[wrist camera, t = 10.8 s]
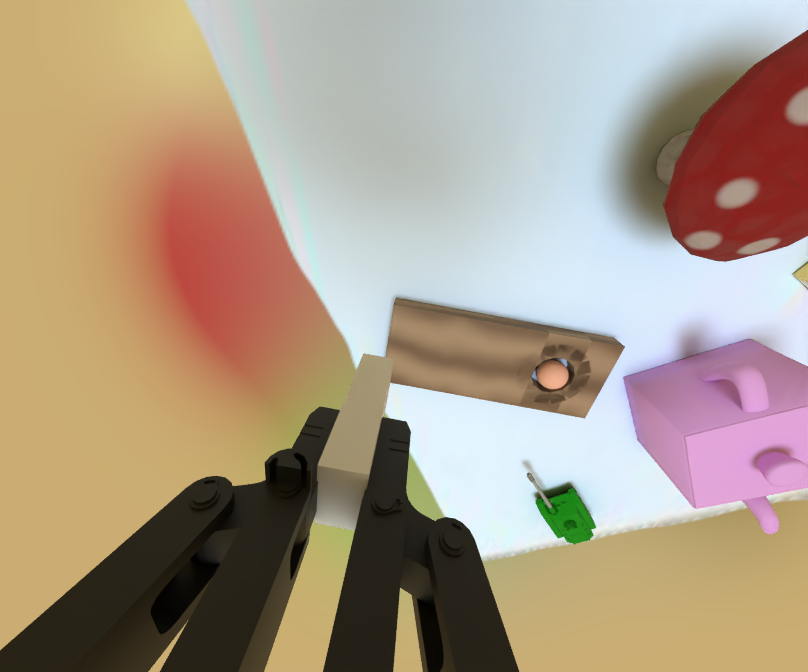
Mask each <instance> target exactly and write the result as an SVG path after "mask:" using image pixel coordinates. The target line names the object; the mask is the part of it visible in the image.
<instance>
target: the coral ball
mask: <svg viewBox="0 0 808 672" xmlns="http://www.w3.org/2000/svg"><path fill="white" fill-rule="evenodd" d="M536 376H537V379H538V381H539V383H540V384H541V385H543V386H544V387H546V388H549V389H558V388H561V387H562V386H564V385H565V384H566V382H567V381H568V377H569V374H568V370H567V368H566V367H565V366H564V365H563V364H562V363H561V362H559V361H556V360H547V361H545V362H543V363H541V364H540V365H539V367H538V368H537V372H536Z"/></svg>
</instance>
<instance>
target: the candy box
mask: <svg viewBox="0 0 808 672" xmlns="http://www.w3.org/2000/svg"><path fill="white" fill-rule="evenodd" d="M793 275H794V276H795V277H796V278H797V279H798V280H799V281H801V282H802V283H803V284H804V285H805V286H806V287H807V288H808V263H807V264H806V265H804V266H803V267H802V268H801V269H799V270H798V271H797V272H795V273H794V274H793Z"/></svg>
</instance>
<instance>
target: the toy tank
mask: <svg viewBox="0 0 808 672" xmlns="http://www.w3.org/2000/svg"><path fill="white" fill-rule="evenodd" d="M527 477H528V478H529V480H530V481H531V482H532V483H533V484H534V486H535V487H536V489H537V490H538V492H539V493H540V495H541V497H542V498H539V499H537V500H536V501H535V502H536V505H537V507H538V509H539V511H540V513H541V515H542V516H543V518H544V519H545V520H546V522H547V523H548V525H549V526H550V528H551V529H552V531H553V532H554V533H555V535H556V536H557V537H558V538H561V537H563V536H564V538H565V539H566V541H567V542H569V543H573V544H576V543H580V542H584V541H587V540H590V538H591V537H592V536H593V533H592V531H591V529H594V528H596V526H595V523H594V521H593V519H592V517H591V515H590V513H589V512H588V510H587V508H586V507H585V505H584V503H583V502H582V500H581V498H580V497H579V495H578V493H577V492H576V490H575V488H571V489H568V493H564V494H560V495H557V496H554V497H551V498H546V497H545V495H544V494H543V492H542V491H541V489H540V488H539V486H538V485H537V484H536V482H535V479H534V477H533V476H532V474H531V473H527Z"/></svg>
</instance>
